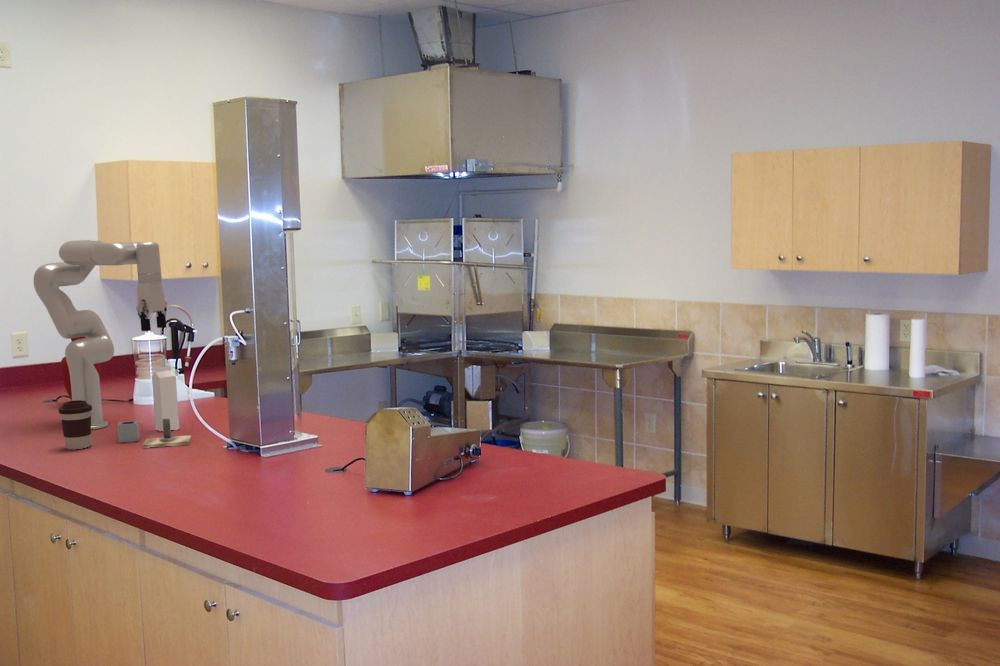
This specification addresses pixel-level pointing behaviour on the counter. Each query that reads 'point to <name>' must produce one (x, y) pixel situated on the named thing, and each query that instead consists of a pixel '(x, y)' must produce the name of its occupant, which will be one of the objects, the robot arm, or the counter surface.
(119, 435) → the gray rounded cube
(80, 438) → the coffee cup
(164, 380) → the milk
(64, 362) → the vase
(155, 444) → the shaft stand
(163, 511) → the counter surface
